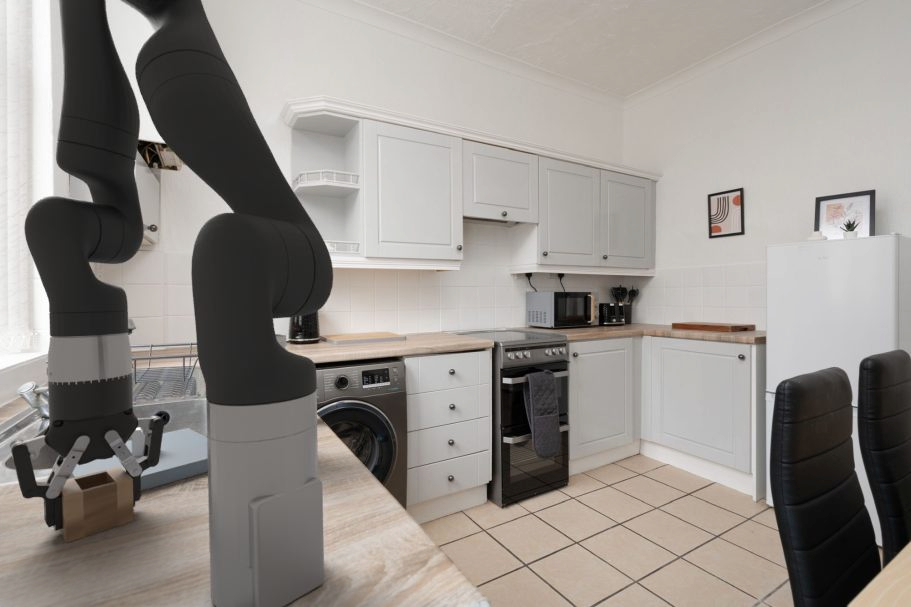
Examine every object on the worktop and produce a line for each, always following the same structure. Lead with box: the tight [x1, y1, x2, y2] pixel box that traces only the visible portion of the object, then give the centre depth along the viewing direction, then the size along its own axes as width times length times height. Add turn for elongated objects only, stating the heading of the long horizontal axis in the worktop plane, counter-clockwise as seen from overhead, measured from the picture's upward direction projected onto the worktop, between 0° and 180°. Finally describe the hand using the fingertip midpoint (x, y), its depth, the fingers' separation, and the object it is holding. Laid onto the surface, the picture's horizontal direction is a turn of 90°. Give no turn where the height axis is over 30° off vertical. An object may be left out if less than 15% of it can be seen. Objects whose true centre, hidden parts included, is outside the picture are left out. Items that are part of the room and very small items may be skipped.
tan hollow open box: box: [59, 467, 135, 544], centre depth 51 cm, size 6×6×5 cm
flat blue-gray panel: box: [63, 427, 208, 492], centre depth 68 cm, size 20×18×6 cm
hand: (95, 515), depth 51 cm, fingers closed on tan hollow open box, 6 cm apart
